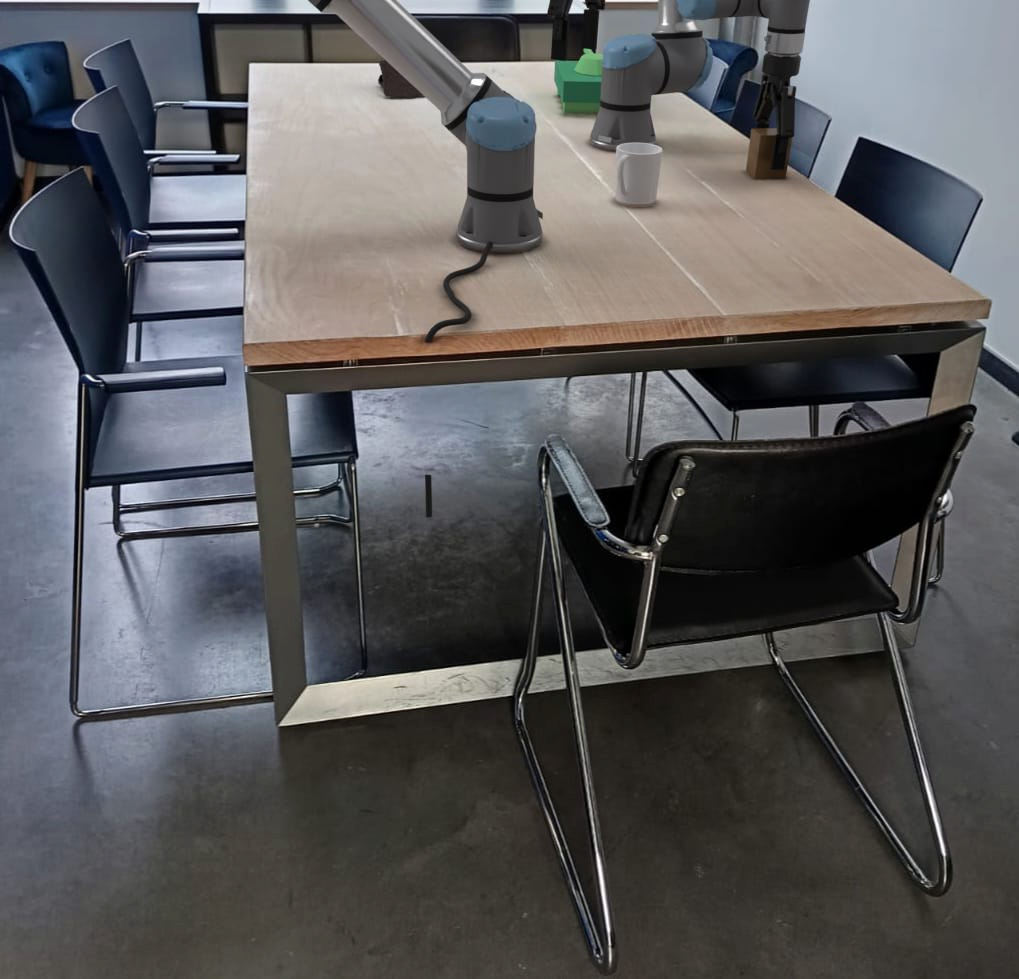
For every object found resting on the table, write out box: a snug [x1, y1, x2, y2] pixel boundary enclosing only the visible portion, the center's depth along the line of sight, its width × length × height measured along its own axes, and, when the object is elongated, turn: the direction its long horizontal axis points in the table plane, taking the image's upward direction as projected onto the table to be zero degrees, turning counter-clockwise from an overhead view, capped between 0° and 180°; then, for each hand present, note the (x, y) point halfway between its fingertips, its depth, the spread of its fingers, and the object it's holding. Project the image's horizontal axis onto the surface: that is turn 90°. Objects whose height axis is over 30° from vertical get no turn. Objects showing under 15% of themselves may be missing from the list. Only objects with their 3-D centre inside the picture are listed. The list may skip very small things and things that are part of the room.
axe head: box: [377, 59, 425, 99], centre depth 299 cm, size 18×8×15 cm
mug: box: [614, 143, 664, 208], centre depth 214 cm, size 11×9×10 cm
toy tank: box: [553, 49, 603, 115], centre depth 290 cm, size 18×12×35 cm
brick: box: [745, 127, 793, 180], centre depth 234 cm, size 7×6×9 cm
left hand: (574, 54), depth 193 cm, fingers open, 13 cm apart
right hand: (767, 161), depth 234 cm, fingers open, 11 cm apart
